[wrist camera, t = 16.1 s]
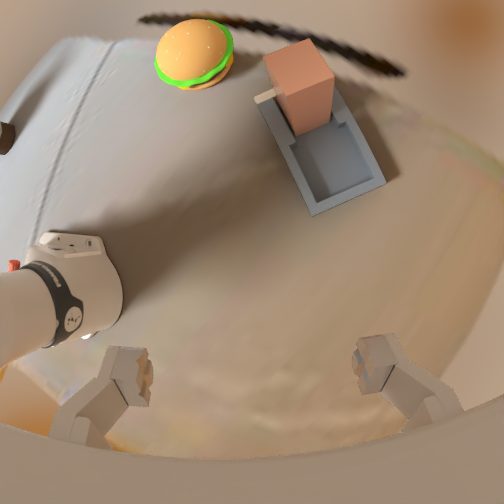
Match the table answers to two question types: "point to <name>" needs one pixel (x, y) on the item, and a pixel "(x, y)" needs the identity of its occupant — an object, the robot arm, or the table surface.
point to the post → (301, 85)
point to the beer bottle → (6, 137)
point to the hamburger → (194, 54)
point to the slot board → (324, 155)
